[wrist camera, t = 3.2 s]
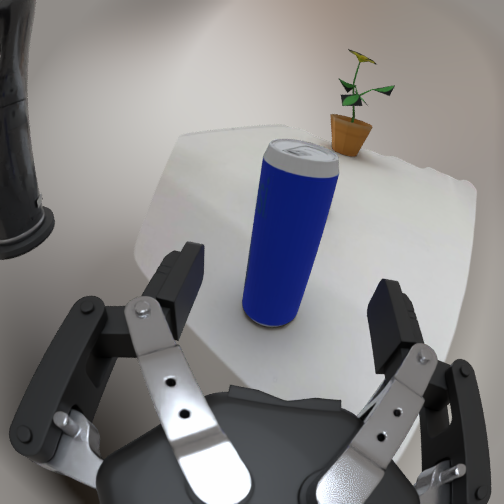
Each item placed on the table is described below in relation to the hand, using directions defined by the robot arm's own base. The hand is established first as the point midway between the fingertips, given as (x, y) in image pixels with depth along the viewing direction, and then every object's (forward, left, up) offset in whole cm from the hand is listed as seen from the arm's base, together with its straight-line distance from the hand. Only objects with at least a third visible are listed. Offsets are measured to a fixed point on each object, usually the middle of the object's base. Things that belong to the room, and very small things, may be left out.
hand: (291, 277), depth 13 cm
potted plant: (+23, +72, -12) cm, 76 cm away
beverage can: (+1, +9, -12) cm, 15 cm away
